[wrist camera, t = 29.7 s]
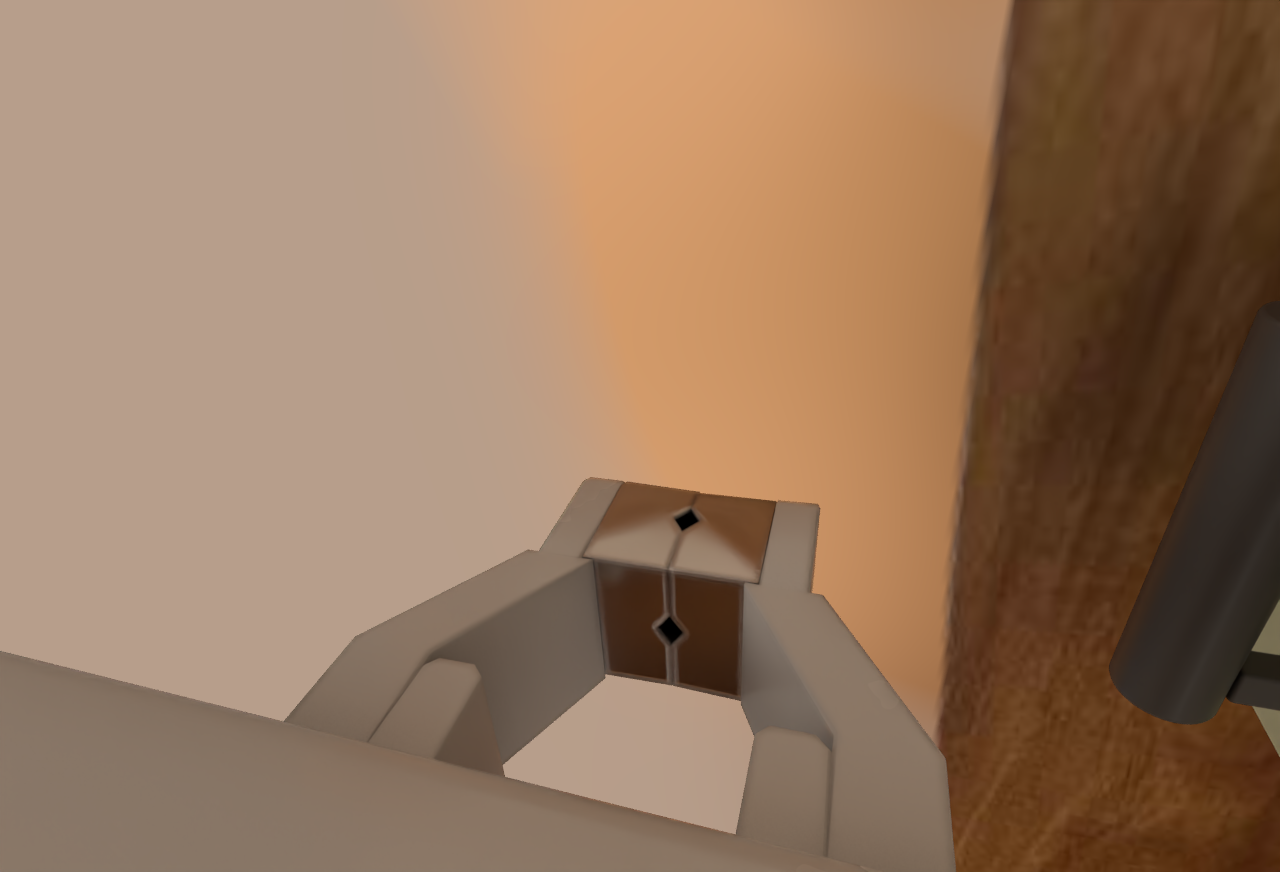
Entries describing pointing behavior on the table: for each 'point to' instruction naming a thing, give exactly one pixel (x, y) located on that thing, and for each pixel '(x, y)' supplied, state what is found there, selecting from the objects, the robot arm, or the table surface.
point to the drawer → (1218, 563)
